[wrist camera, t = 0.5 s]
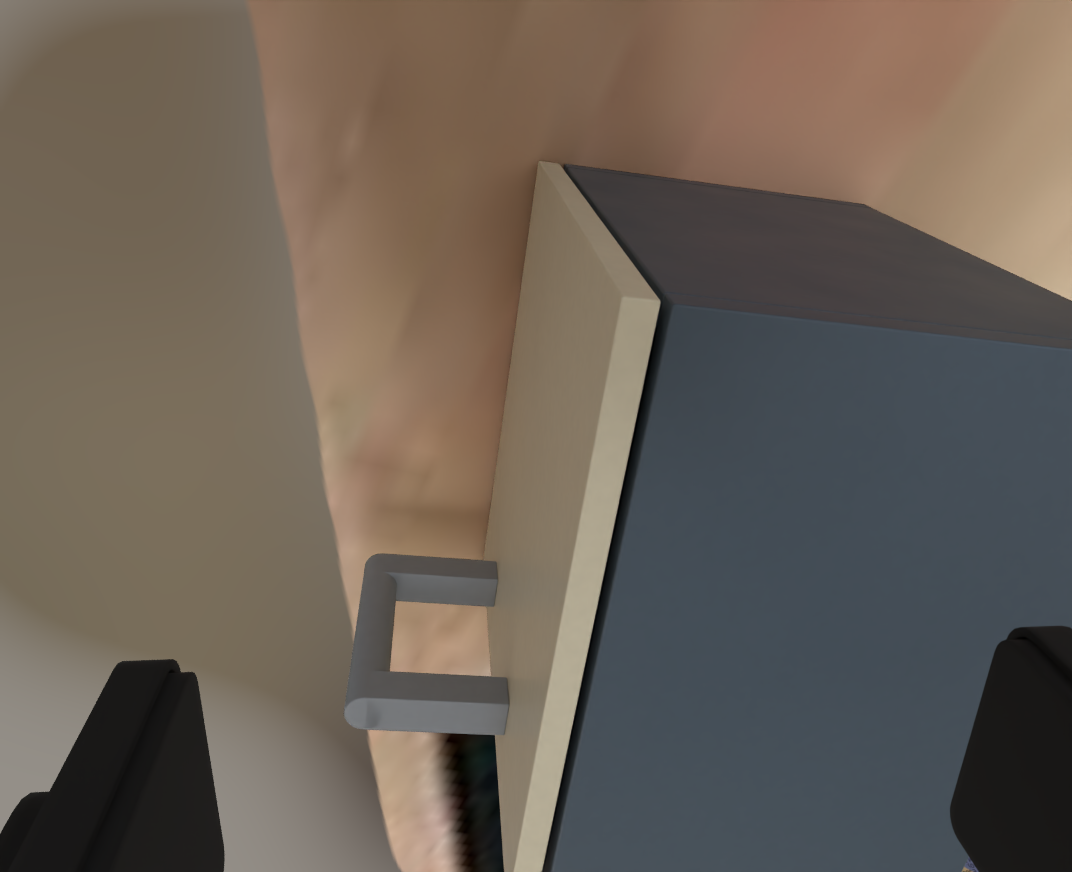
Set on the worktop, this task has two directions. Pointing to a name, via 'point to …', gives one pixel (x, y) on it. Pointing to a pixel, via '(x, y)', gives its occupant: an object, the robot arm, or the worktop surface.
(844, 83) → the worktop surface
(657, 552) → the cupboard
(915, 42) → the worktop surface
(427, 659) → the worktop surface
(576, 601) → the cupboard door
